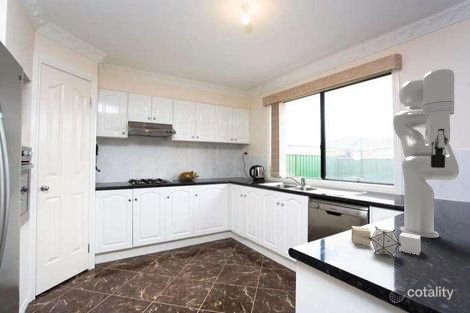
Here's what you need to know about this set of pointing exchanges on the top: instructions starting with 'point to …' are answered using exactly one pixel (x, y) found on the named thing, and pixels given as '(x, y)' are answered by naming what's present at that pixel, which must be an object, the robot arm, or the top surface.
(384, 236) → the game die
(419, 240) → the white block
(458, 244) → the top surface
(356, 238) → the ash block
